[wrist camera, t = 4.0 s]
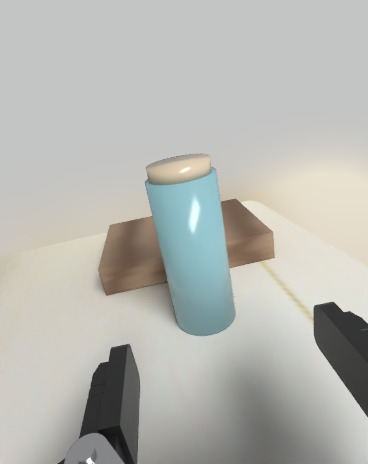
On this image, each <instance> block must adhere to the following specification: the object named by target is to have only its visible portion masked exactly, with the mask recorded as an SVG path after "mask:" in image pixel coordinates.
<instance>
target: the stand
mask: <svg viewBox="0 0 368 464" xmlns="http://www.w3.org/2000/svg"><path fill="white" fill-rule="evenodd" d="M221 209H222V216H223V224H224V231H225V239H226V246H227V253H228V261H229V268H231V267H235V266H240V265H244V264H249V263H253V262H257V261H262V260H266V259H271V258H275V257H274V241H273V232H272V231H271V230H270V229H269V228H268V227H267V226H266V225H264V224H263V223H262V222H261V221H260V220H259V219H258V218H257V217H256V216H254V215H253V214H252V213H251V212H250V211H249V210H248V209H247V208H245V207H244V206H243V205H242V204H241V203H240V202H239V201H238V200H236V199H232V200H227V201H222V202H221ZM98 271H99V274H100V277H101V280H102V283H103V286H104V289H105V292H106V295H110V294H115V293H119V292H124V291H128V290H133V289H137V288H141V287H146V286H150V285H155V284H159V283H164V282H168V281H167V277H166V272H165V268H164V264H163V259H162V255H161V251H160V246H159V242H158V238H157V233H156V229H155V225H154V221H153V216H151V217H146V218H141V219H137V220H132V221H127V222H122V223H117V224H113V225H110V227H109V231H108V234H107V238H106V242H105V246H104V250H103V254H102V258H101V262H100V265H99V269H98Z"/></svg>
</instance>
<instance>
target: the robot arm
mask: <svg viewBox="0 0 368 464" xmlns="http://www.w3.org/2000/svg"><path fill="white" fill-rule="evenodd" d="M314 337H315V341H316V343H317V346H318V347H319V349H320V350H321V352H322V353H323V355H324V356H325V357H326V359H327V360H328V362H329V363H330V365H331V366H332V367H333V369H334V370H335V372H336V373H337V374H338V376H339V377H340V379H341V380H342V381H343V383H344V384H345V386H346V387H347V389H348V390H349V391H350V393H351V394H352V396H353V397H354V398H355V400H356V401H357V403H358V404H359V405H360V407H361V408H362V410H363V411H364V413H365V414H366V415H367V417H368V324H367V323H366V322H365V321H364V320H363V319H362V318H361V317H359V316H357V315H355V314H353V313H352V312H350V311H348V312H343V311H342V310H341V309H340V308H339V307H338V306H337V305H336V304H335V303H334V302H329V303H324V304H320V305H315V306H314ZM139 398H140V379H139V372H138V369H137V365H136V362H135V359H134V356H133V353H132V349H131V346H130V345H129V344H126V345H122V346H117V347H112V348H111V350H110V356H109V362H104V363H100V364H99V366H98V368H97V369H96V371H95V372H94V374H93V377H92V382H91V388H90V391H89V398H88V400H87V405H86V409H85V414H84V419H83V423H82V428H81V432H80V437H79V440H77V441H76V442H75V443H74V444H73V445H72V447H71V448H70V449H69V451H68V453H67V455H66V458H65V459H64V460H62V461H61V462H60V463H58V464H137V451H138V425H139Z"/></svg>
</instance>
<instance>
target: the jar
mask: <svg viewBox="0 0 368 464" xmlns="http://www.w3.org/2000/svg"><path fill="white" fill-rule="evenodd" d="M146 171H147V175H148V179H147V180H146V181H145V186H146V190H147V195H148V199H149V203H150V207H151V211H152V216H153V221H154V225H155V229H156V233H157V238H158V242H159V246H160V251H161V255H162V259H163V264H164V268H165V272H166V277H167V281H168V285H169V290H170V294H171V298H172V303H173V307H174V311H175V315H176V320H177V324H178V326H179V327H180V328H181V329H182V330H183V331H184V332H186V333H189V334H192V335H197V336H207V335H212V334H216V333H219V332H221V331H223V330H224V329H226V328H227V327H229V326H230V325H231V323H232V322H233V320H234V318H235V314H236V313H235V305H234V298H233V290H232V283H231V276H230V268H229V261H228V253H227V246H226V239H225V231H224V224H223V216H222V209H221V202H220V194H219V187H218V180H217V173H216V169H215V168H213V167H211V161H210V156H209V155H208V154H189V155H182V156H176V157H171V158H167V159H163V160H160V161H157V162H154V163H152V164H150V165H148V166H147V167H146Z"/></svg>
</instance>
